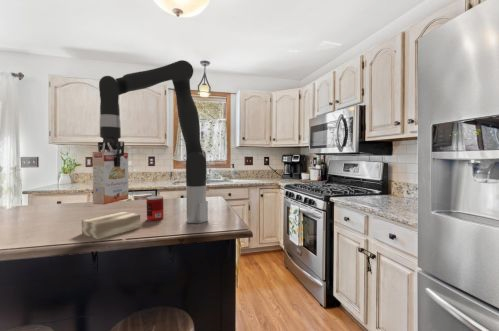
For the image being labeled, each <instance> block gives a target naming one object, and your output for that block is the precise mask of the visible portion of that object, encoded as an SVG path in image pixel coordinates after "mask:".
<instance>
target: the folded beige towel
mask: <svg viewBox="0 0 499 331" xmlns="http://www.w3.org/2000/svg"><path fill="white" fill-rule="evenodd" d="M140 228H141V214H137V213H134V212H130V211H129V212H128V211H120V212H116V213H110V214H105V215H100V216H94V217H90V218H86V219H81V234H82V235H84V236H88V237H90V238H94V239H97V240H98V239H99V240H100V239H102V238H107V237H111V236H115V235H118V234H121V233H125V232H128V231H132V230H136V229H140Z"/></svg>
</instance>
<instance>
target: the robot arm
mask: <svg viewBox="0 0 499 331" xmlns="http://www.w3.org/2000/svg"><path fill="white" fill-rule="evenodd" d="M193 74H194V67H193V65H192V64H191V63H190V62H189V61H187V60H183V59H181V60H176V61H174V62H172V63H169V64H166V65H164V66H159V67H155V68H151V69H148V70H147V69H146V70H143V71H136V72H131V73H126V74H123V76H121V77H118V78H116V77H113V76H111V75H104V76H102V77H101V78H100V80H99V83H98V88H99V90H98V91H99V99H100V106H99V107H100V108H99V112H100V114H99V137H100V138H101V139H102V141H98V142H97V148H98V149H97V152H113V155H114V157H115V158H114V167H120V157H121V156H124V152H125V141H121V140H119V139H121V137H122V134H121V130H122V129H121V125H122V124H121V118H120V115H121V114H120V113H121V112H120V103H119V99H120V98H119V97H120V96H121V95H124V94H126V93H129V92H134V91H140V90H143V89H149V88H151V87H153V86H156V85H159V84H161V83H164V82H168V81H172V85H173V88H174V92H175V99H176V107H177V108H176V109H177V115H178V121H179V127H180V130H181V134H182V137H183V141H184V144H185V154H186V156H185V158H186V160H185V184H186V185H185V188H186V190H185V191H186V194H185V196H186V198H185V199H186V201H185V202H186V204H185V205H186V222H187V223H188V224H202V223H205V222H208V221H209V208H208V207H209V206H208V205H209V202H208V200H207V158H206V156H205V154H204V152H203V148H202V145H201V143H202V142H201V127H200V117H199V112H198V109H197V105H196V103H195V101H194V99H193V96H192V93H191V83H190V81H191V79H192V77H193ZM120 152H121V153H120ZM116 153H117V154H116Z"/></svg>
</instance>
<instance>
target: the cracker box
mask: <svg viewBox="0 0 499 331" xmlns="http://www.w3.org/2000/svg"><path fill="white" fill-rule="evenodd" d="M120 153H121V151H120ZM116 154H117V153H116ZM91 156H92V202H93V203H92V204H94V205H101V206H102V205H103V206H104V205H105V206H106V205H108V204H112V203H117V202H121V201H125V200H129V153H128V152H125V151H124V156H121V157H120V167H114V158H115V157H114V155H113V152H102V151H101V152H98V151H92V154H91Z"/></svg>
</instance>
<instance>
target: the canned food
mask: <svg viewBox="0 0 499 331" xmlns="http://www.w3.org/2000/svg"><path fill="white" fill-rule="evenodd" d="M163 219H164V196H163V195H152V196H150V195H149V196H148V197H147V196H146V220H147V221H149V222H155V221H156V222H157V221H161V220H163Z"/></svg>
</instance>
